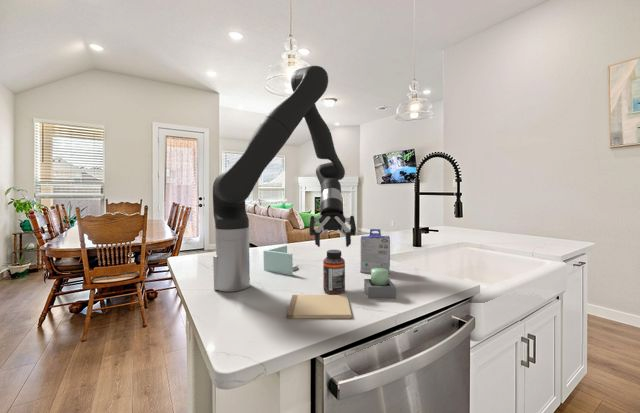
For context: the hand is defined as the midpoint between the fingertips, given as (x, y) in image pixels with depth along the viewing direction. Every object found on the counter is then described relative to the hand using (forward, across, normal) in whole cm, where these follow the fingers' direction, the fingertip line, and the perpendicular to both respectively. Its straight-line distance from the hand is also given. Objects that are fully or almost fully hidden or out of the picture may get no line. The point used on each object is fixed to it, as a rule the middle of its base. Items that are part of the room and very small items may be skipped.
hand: (333, 245), depth 85 cm
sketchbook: (+20, -4, -4) cm, 21 cm away
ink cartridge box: (-1, +15, +18) cm, 24 cm away
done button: (+12, +12, 0) cm, 17 cm away
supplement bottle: (+13, 0, +4) cm, 13 cm away
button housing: (+14, +12, +2) cm, 19 cm away
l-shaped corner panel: (-4, -16, +22) cm, 27 cm away
